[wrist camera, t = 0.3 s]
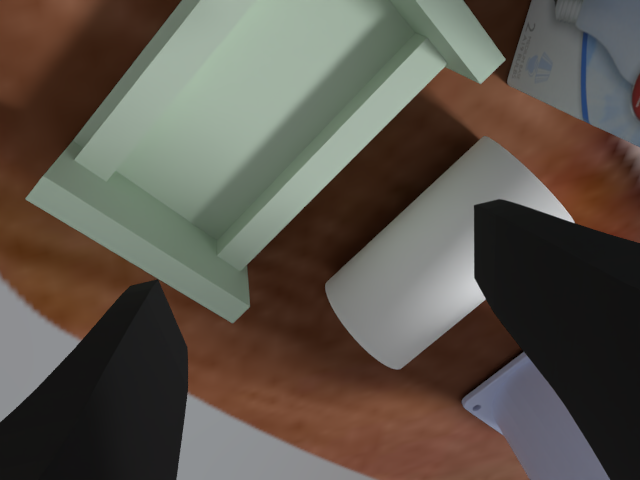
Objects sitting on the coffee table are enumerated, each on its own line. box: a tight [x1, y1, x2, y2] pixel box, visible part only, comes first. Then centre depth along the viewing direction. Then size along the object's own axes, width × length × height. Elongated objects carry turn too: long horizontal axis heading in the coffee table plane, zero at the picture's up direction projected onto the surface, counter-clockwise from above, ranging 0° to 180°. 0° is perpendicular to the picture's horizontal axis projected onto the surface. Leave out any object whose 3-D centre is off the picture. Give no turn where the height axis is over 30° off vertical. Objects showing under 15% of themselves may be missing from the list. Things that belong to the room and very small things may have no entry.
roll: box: [325, 136, 574, 370], centre depth 20 cm, size 9×5×5 cm, turn 135°
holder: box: [26, 0, 506, 323], centre depth 16 cm, size 13×8×4 cm, turn 135°
